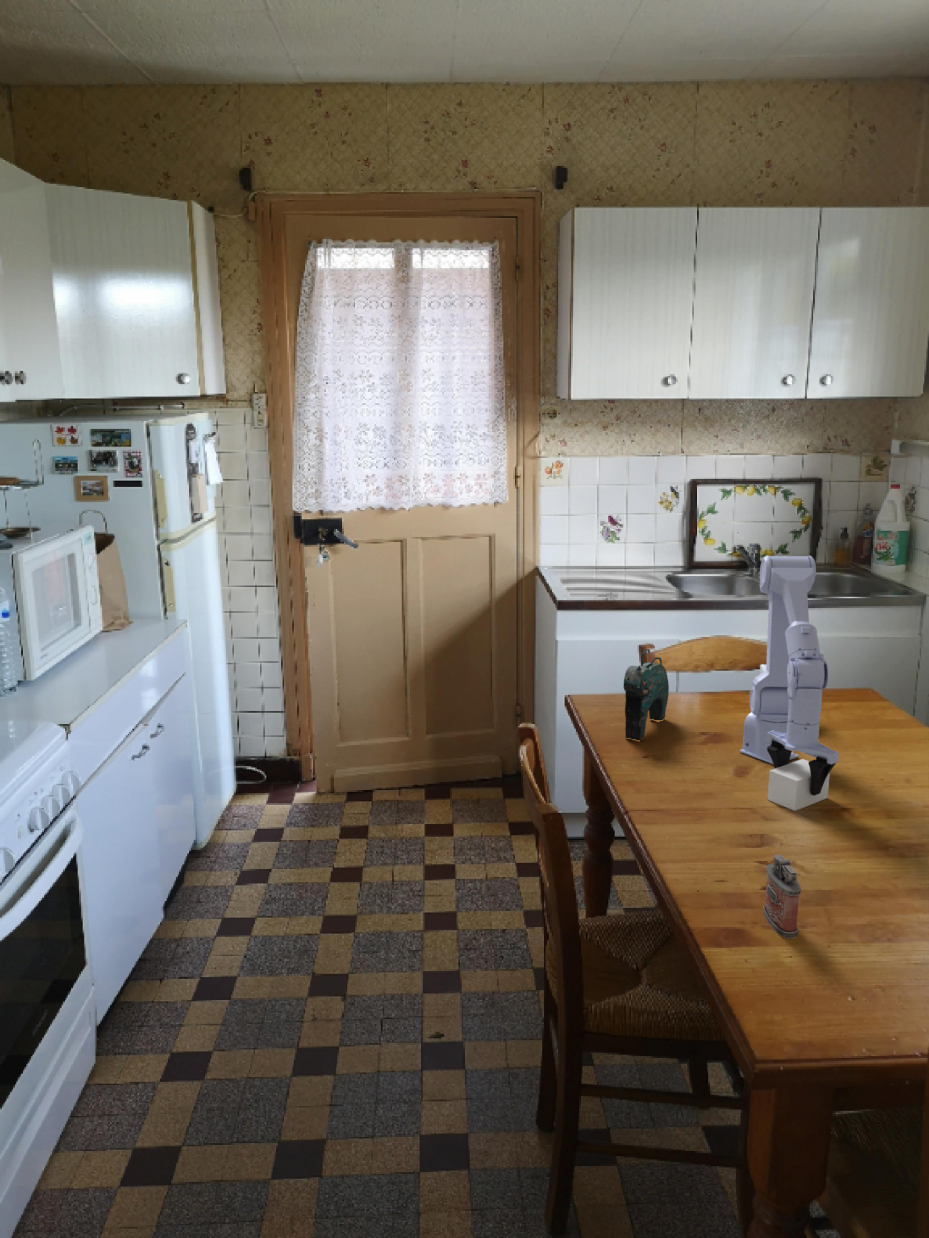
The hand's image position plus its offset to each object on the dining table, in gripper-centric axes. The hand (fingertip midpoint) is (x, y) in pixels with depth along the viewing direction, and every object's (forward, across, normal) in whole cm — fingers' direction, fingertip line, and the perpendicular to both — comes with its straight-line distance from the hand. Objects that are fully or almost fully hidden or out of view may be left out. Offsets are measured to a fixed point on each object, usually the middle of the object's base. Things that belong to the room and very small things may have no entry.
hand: (798, 787), depth 182 cm
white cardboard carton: (+2, 0, 0) cm, 2 cm away
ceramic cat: (+3, -45, +4) cm, 45 cm away
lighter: (+3, +26, -39) cm, 47 cm away
